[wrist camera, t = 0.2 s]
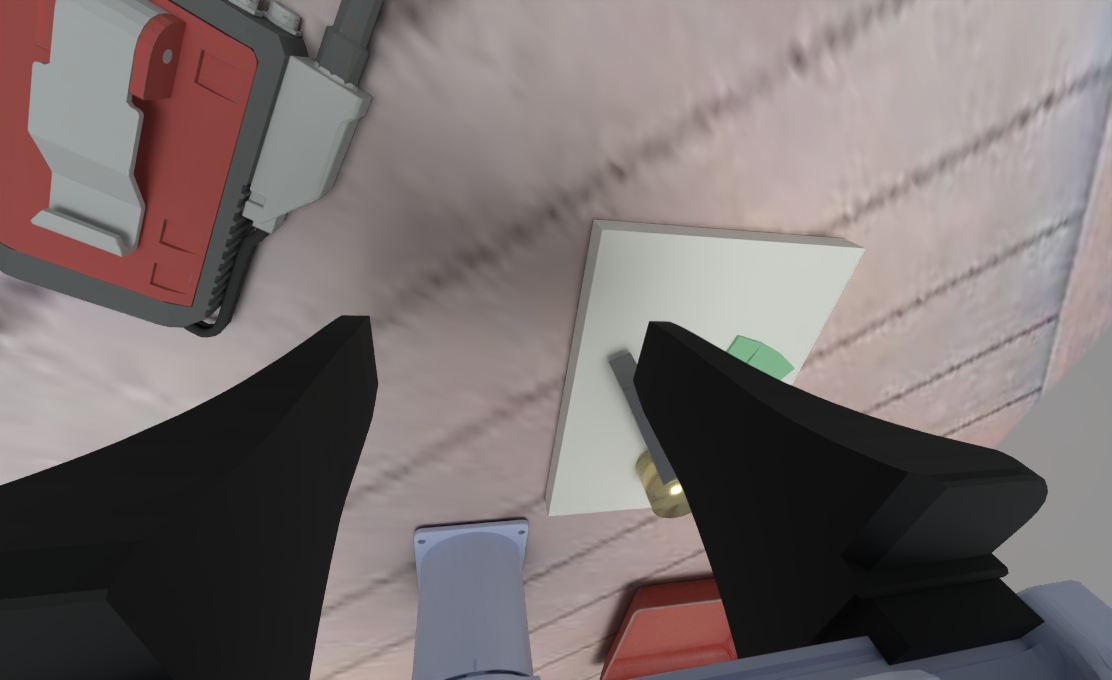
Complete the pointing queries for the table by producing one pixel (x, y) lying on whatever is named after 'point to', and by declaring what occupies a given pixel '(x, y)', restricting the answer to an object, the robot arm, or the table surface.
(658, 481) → the dial lever
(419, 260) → the table surface
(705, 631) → the plant saucer
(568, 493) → the dial board
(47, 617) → the robot arm
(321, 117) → the walkie-talkie
